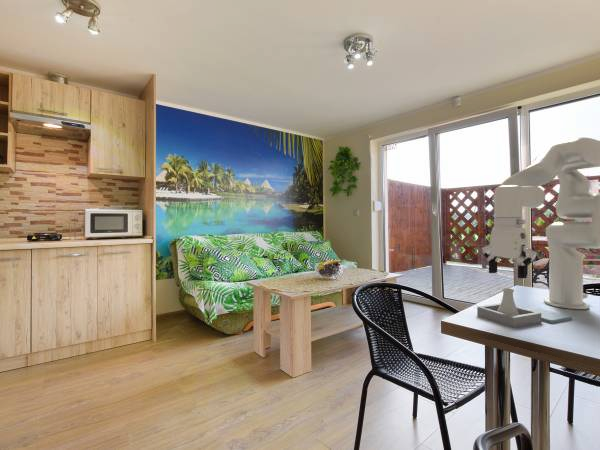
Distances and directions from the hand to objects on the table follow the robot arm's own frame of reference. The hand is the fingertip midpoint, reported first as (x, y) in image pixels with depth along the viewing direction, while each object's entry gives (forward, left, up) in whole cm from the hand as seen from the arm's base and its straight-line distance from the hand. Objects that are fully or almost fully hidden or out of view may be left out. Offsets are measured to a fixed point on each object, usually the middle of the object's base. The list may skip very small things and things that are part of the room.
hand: (506, 275), depth 97 cm
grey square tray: (-1, 0, -15) cm, 14 cm away
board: (-14, +3, -15) cm, 20 cm away
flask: (-1, 0, -15) cm, 15 cm away
